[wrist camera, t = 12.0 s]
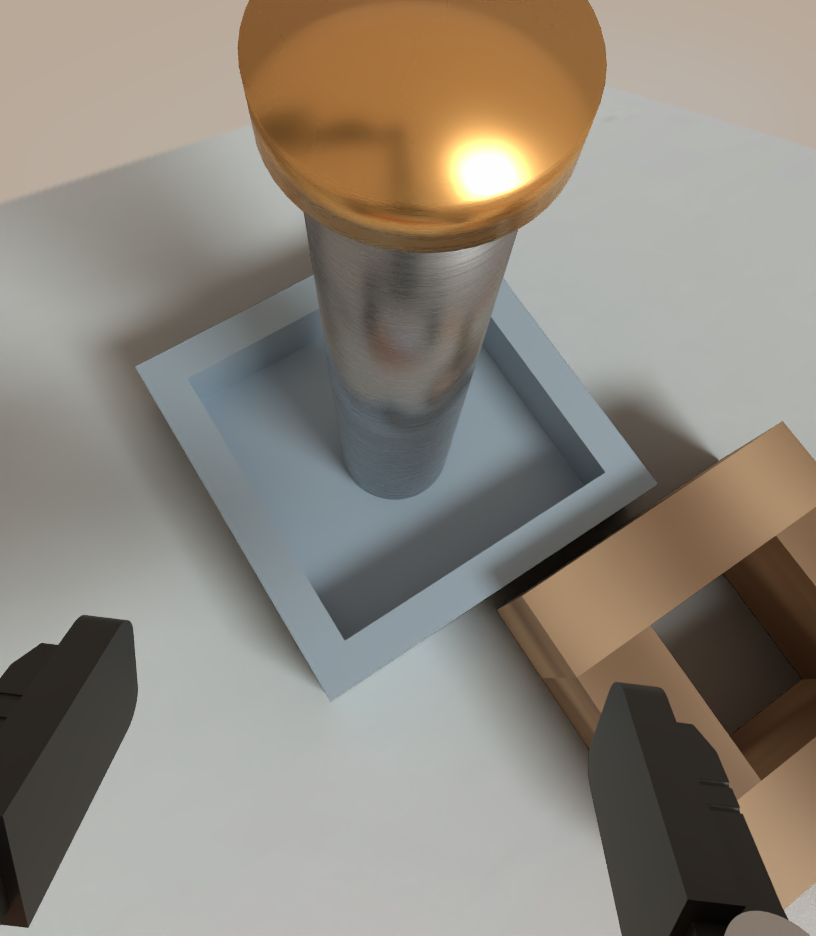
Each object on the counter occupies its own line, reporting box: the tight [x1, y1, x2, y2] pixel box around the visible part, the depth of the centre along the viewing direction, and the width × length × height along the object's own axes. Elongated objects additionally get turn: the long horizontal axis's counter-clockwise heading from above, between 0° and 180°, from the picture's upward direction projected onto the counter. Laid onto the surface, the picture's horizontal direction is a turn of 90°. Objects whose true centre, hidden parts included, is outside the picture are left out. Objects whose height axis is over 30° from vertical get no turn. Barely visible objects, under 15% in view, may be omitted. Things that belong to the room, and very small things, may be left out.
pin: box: [238, 0, 607, 500], centre depth 16 cm, size 5×5×16 cm
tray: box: [135, 275, 658, 701], centre depth 24 cm, size 12×12×3 cm
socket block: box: [497, 421, 816, 910], centre depth 22 cm, size 10×10×4 cm
